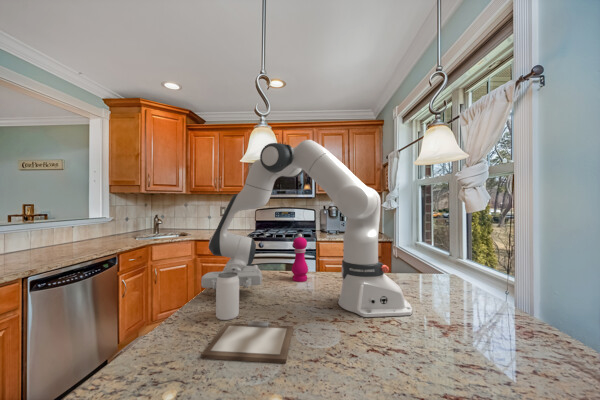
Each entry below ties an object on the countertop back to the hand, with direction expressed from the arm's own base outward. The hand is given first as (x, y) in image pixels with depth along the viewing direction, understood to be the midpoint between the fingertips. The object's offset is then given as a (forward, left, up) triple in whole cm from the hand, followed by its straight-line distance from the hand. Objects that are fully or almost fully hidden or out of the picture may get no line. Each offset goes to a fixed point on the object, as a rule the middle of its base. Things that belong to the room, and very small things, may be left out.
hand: (230, 285), depth 80 cm
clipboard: (-13, +20, -6) cm, 25 cm away
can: (-2, +7, -7) cm, 10 cm away
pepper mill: (-20, -30, -7) cm, 37 cm away
